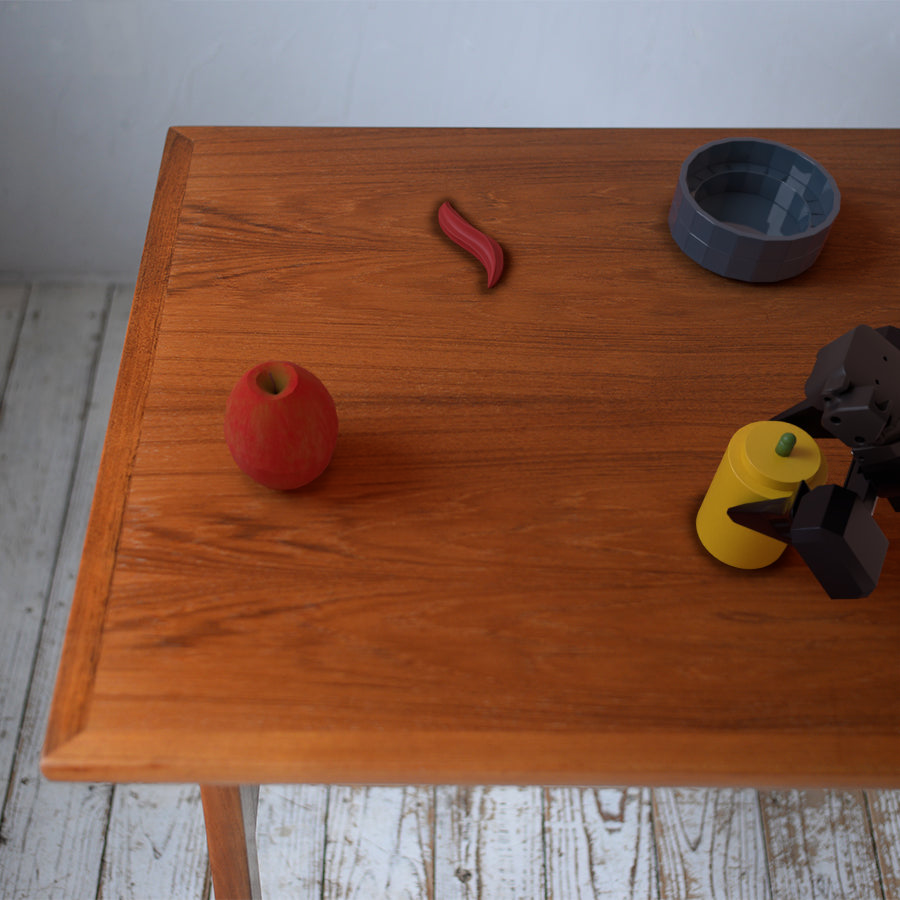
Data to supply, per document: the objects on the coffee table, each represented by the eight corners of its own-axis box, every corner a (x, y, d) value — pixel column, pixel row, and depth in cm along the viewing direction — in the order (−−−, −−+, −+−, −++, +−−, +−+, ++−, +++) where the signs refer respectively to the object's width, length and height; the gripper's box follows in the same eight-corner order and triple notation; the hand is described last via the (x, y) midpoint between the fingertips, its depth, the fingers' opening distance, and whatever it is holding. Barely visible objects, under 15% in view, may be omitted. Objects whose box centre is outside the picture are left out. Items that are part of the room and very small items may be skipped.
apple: (313, 405, 77) (301, 311, 68) (361, 480, 73) (355, 389, 64) (217, 446, 74) (191, 353, 66) (261, 526, 70) (240, 438, 62)
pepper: (788, 504, 73) (845, 408, 63) (782, 579, 69) (841, 489, 60) (701, 483, 74) (744, 386, 64) (690, 556, 70) (734, 463, 60)
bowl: (822, 201, 94) (843, 154, 89) (815, 301, 86) (837, 255, 81) (677, 172, 96) (690, 124, 91) (656, 267, 87) (669, 220, 83)
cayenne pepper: (513, 284, 86) (515, 268, 84) (462, 292, 85) (463, 276, 83) (479, 197, 92) (480, 181, 91) (432, 203, 92) (433, 187, 90)
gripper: (965, 230, 56) (733, 297, 68) (895, 457, 46) (637, 491, 58) (1034, 368, 61) (805, 409, 72) (983, 603, 51) (727, 607, 63)
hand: (748, 471), depth 66 cm, fingers open, 8 cm apart
